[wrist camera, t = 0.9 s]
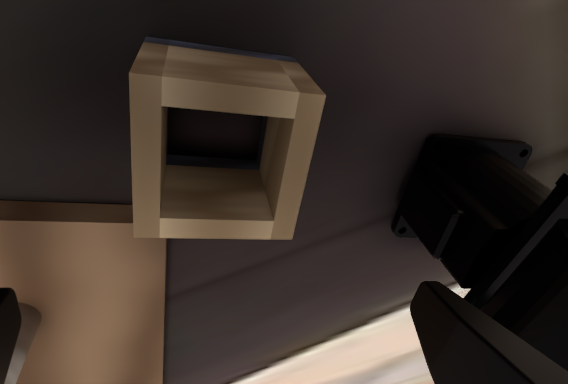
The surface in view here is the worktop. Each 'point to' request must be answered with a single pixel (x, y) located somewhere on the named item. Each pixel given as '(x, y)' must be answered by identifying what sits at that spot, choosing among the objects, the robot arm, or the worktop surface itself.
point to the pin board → (83, 294)
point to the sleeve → (220, 171)
